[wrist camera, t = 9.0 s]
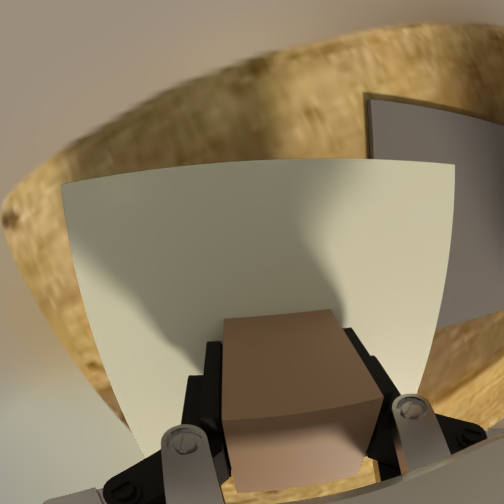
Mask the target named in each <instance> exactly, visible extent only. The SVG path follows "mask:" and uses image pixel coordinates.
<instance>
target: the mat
mask: <svg viewBox="0 0 504 504" xmlns="http://www.w3.org/2000/svg"><path fill="white" fill-rule="evenodd" d="M367 106H368V120H369V138H370V159H382V160H403V161H418V162H432V163H443V164H453V165H455V190H454V210H453V223H452V234H451V244H450V252H449V259H448V267H447V273H446V279H445V285H444V291H443V296H442V301H441V306H440V311H439V315H438V320H437V324H436V328H435V329H438V328H442V327H446V326H450V325H453V324H457V323H461V322H464V321H468V320H471V319H475V318H478V317H482V316H485V315H488V314H491V313H494V312H498V311H501V310H504V126H503V125H499V124H496V123H493V122H489V121H485V120H482V119H478V118H474V117H470V116H466V115H462V114H457V113H453V112H448V111H443V110H439V109H433V108H428V107H422V106H417V105H410V104H404V103H397V102H390V101H382V100H373V99H370V100H367Z"/></svg>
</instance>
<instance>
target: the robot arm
mask: <svg viewBox="0 0 504 504" xmlns="http://www.w3.org/2000/svg"><path fill="white" fill-rule="evenodd" d="M342 329H343V330H344V332H345V333H346V335H347V337H348V338H349V340H350V341H351V343H352V345H353V346H354V348H355V350H356V351H357V353H358V354H359V356H360V358H361V359H362V361H363V363H364V364H365V366H366V368H367V369H368V371H369V373H370V374H371V376H372V378H373V379H374V381H375V383H376V384H377V386H378V388H379V389H380V391H381V393H382V394H383V396H384V398H383V402H382V405H381V409H380V412H379V415H378V419H377V422H376V425H375V428H374V431H373V434H372V437H371V440H370V443H369V446H368V448H367V451H366V454H365V456H368V458H371V459H373V467H374V473H375V479H376V483H375V484H372V485H368V486H365V487H361V488H357V489H353V490H349V491H345V492H341V493H337V494H332V495H327V496H323V497H317V498H312V499H306V500H300V501H293V502H286V503H278V504H504V429H491V428H488V429H487V431H484V429H483V428H482V427H480V426H479V425H477V424H474V423H470V422H466V421H462V420H458V419H454V418H450V417H446V416H443V415H439V414H435V413H434V411H433V409H432V406H431V404H430V403H429V401H428V400H427V399H426V398H424V397H423V396H420V395H417V394H404V395H401V394H400V392H399V391H398V389H397V388H396V386H395V385H394V383H393V382H392V380H391V378H390V377H389V375H388V374H387V372H386V371H385V369H384V368H383V366H382V365H381V364H380V362H379V361H378V359H377V358H376V357H375V356H374V355H371V356H370V354H369V353H368V351H367V350H366V348H365V347H364V345H363V344H362V342H361V341H360V339H359V338H358V336H357V335H356V333H355V332H354V330H353V329H352V328H351V327H349V328H342ZM222 369H223V344H222V342H221V341H210V342H207V343H206V353H205V362H204V372H203V375H189V376H188V380H187V386H186V393H185V399H184V406H183V412H182V419H181V425H177V426H174V427H172V428H170V429H168V430H167V431H166V432H165V433H164V435H163V436H162V438H161V449H160V450H159V451H157V452H155V453H154V454H152V455H150V456H149V457H147V458H145V459H144V460H142V461H140V462H139V463H137V464H135V465H134V466H132V467H130V468H128V469H127V470H125V471H123V472H121V473H120V474H118V475H116V476H114V477H112V478H111V479H110V480H108V481H107V482H106V484H105V485H104V488H102V489H98V490H97V489H96V488H91V489H88V490H85V491H81V492H77V493H74V494H69V495H65V496H61V497H57V498H53V499H49V500H47V501H45V502H44V503H43V504H226V503H225V499H224V495H223V492H222V488H221V484H223V483H224V482H225V481H226V480H228V479H229V477H231V469H232V468H231V464H230V459H229V454H228V449H227V444H226V439H225V434H224V429H223V424H222Z"/></svg>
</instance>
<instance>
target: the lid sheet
mask: <svg viewBox="0 0 504 504" xmlns="http://www.w3.org/2000/svg"><path fill="white" fill-rule="evenodd" d="M61 190H62V198H63V205H64V212H65V219H66V225H67V231H68V237H69V242H70V247H71V252H72V257H73V262H74V267H75V271H76V275H77V280H78V284H79V288H80V292H81V295H82V299H83V303H84V306H85V310H86V314H87V317H88V320H89V324H90V327H91V330H92V333H93V336H94V339H95V342H96V345H97V348H98V351H99V354H100V357H101V360H102V363H103V365H104V368H105V371H106V373H107V376H108V378H109V381H110V384H111V386H112V389H113V391H114V393H115V396H116V398H117V401H118V403H119V405H120V407H121V410H122V412H123V414H124V416H125V419H126V421H127V423H128V425H129V427H130V429H131V431H132V433H133V435H134V437H135V439H136V441H137V443H138V445H139V447H140V449H141V451H142V453H143V455H144V457H145V458H147V457H149V456H150V455H152V454H154V453H155V452H157V451H159V450H160V449H161V438H162V436H163V435H164V433H165V432H166V431H167V430H168V429H170V428H172V427H174V426H177V425H181V419H182V412H183V406H184V399H185V393H186V386H187V380H188V376H189V375H203V372H204V362H205V353H206V343H207V342H210V341H221V342H222V344H223V369H222V424H223V429H224V434H225V439H226V444H227V449H228V454H229V459H230V464H231V468H232V473H233V477H234V482H235V486H236V491H237V493H248V492H261V491H271V490H280V489H288V488H295V487H302V486H308V485H314V484H319V483H324V482H329V481H334V480H339V479H343V478H347V477H351V476H355V475H358V472H359V470H360V467H361V465H362V462H363V459H364V457H365V454H366V451H367V448H368V446H369V443H370V440H371V437H372V434H373V431H374V428H375V425H376V422H377V419H378V415H379V412H380V409H381V405H382V402H383V398H384V396H383V394H382V393H381V391H380V389H379V388H378V386H377V384H376V383H375V381H374V379H373V378H372V376H371V374H370V373H369V371H368V369H367V368H366V366H365V364H364V363H363V361H362V359H361V358H360V356H359V354H358V353H357V351H356V350H355V348H354V346H353V345H352V343H351V341H350V340H349V338H348V337H347V335H346V333H345V332H344V330H343V329H342V328H349V327H351V328H352V329H353V330H354V332H355V333H356V335H357V336H358V338H359V339H360V341H361V342H362V344H363V345H364V347H365V348H366V350H367V351H368V353H369V354H370V356H371V355H374V356H375V357H376V358H377V359H378V361H379V362H380V364H381V365H382V366H383V368H384V369H385V371H386V372H387V374H388V375H389V377H390V378H391V380H392V382H393V383H394V385H395V386H396V388H397V389H398V391H399V392H400V394H401V395H404V394H416V393H417V390H418V387H419V384H420V381H421V378H422V375H423V372H424V369H425V365H426V362H427V359H428V355H429V352H430V348H431V344H432V340H433V337H434V333H435V328H436V324H437V320H438V315H439V311H440V306H441V301H442V296H443V291H444V285H445V279H446V273H447V267H448V259H449V252H450V244H451V234H452V223H453V210H454V190H455V165H453V164H443V163H432V162H418V161H403V160H382V159H339V158H318V159H275V160H253V161H237V162H222V163H210V164H199V165H188V166H179V167H169V168H161V169H153V170H145V171H138V172H131V173H124V174H117V175H111V176H104V177H98V178H93V179H87V180H81V181H76V182H71V183H66V184H61Z"/></svg>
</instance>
